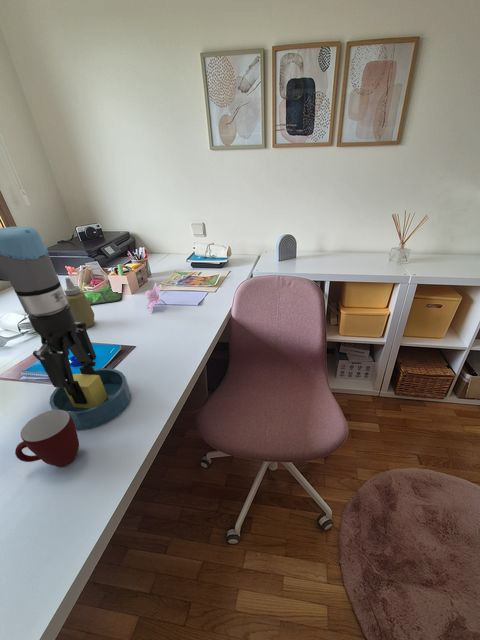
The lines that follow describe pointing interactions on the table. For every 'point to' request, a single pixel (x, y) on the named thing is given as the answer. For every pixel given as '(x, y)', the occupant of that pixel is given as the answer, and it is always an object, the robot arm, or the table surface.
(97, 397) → the sponge
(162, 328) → the table surface
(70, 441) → the mug
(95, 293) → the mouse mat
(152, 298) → the lily
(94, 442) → the table surface
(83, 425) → the bowl
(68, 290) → the squeeze bottle
